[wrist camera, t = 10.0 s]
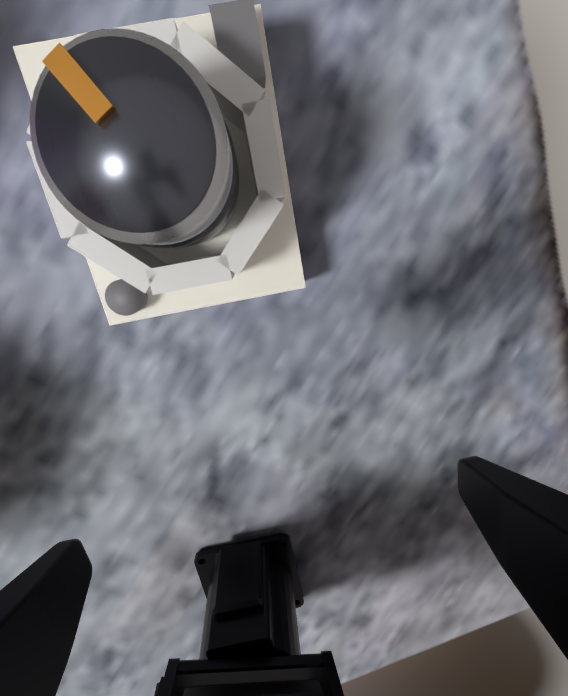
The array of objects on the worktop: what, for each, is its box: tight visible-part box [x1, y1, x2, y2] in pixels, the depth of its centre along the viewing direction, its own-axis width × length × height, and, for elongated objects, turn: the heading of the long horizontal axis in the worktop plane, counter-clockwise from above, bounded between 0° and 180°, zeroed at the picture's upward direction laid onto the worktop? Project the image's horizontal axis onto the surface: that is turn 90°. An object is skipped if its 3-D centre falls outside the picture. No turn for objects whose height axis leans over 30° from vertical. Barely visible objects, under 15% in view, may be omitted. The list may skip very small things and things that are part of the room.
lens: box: [30, 28, 239, 248], centre depth 12 cm, size 5×5×6 cm
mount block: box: [13, 0, 305, 325], centre depth 15 cm, size 11×10×4 cm
